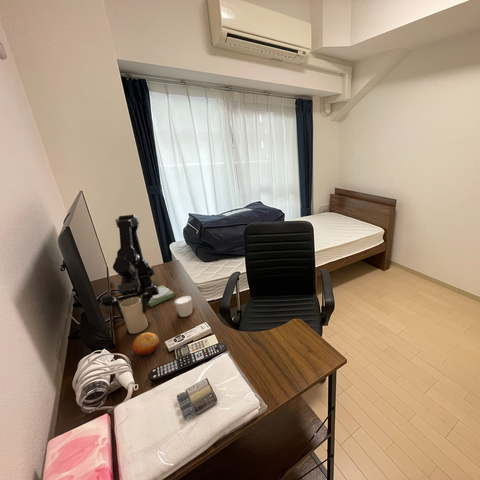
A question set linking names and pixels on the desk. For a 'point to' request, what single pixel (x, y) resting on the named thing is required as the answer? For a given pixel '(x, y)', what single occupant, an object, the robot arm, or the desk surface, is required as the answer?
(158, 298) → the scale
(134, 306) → the cup
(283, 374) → the desk surface
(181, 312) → the white cylinder
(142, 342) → the fruit
